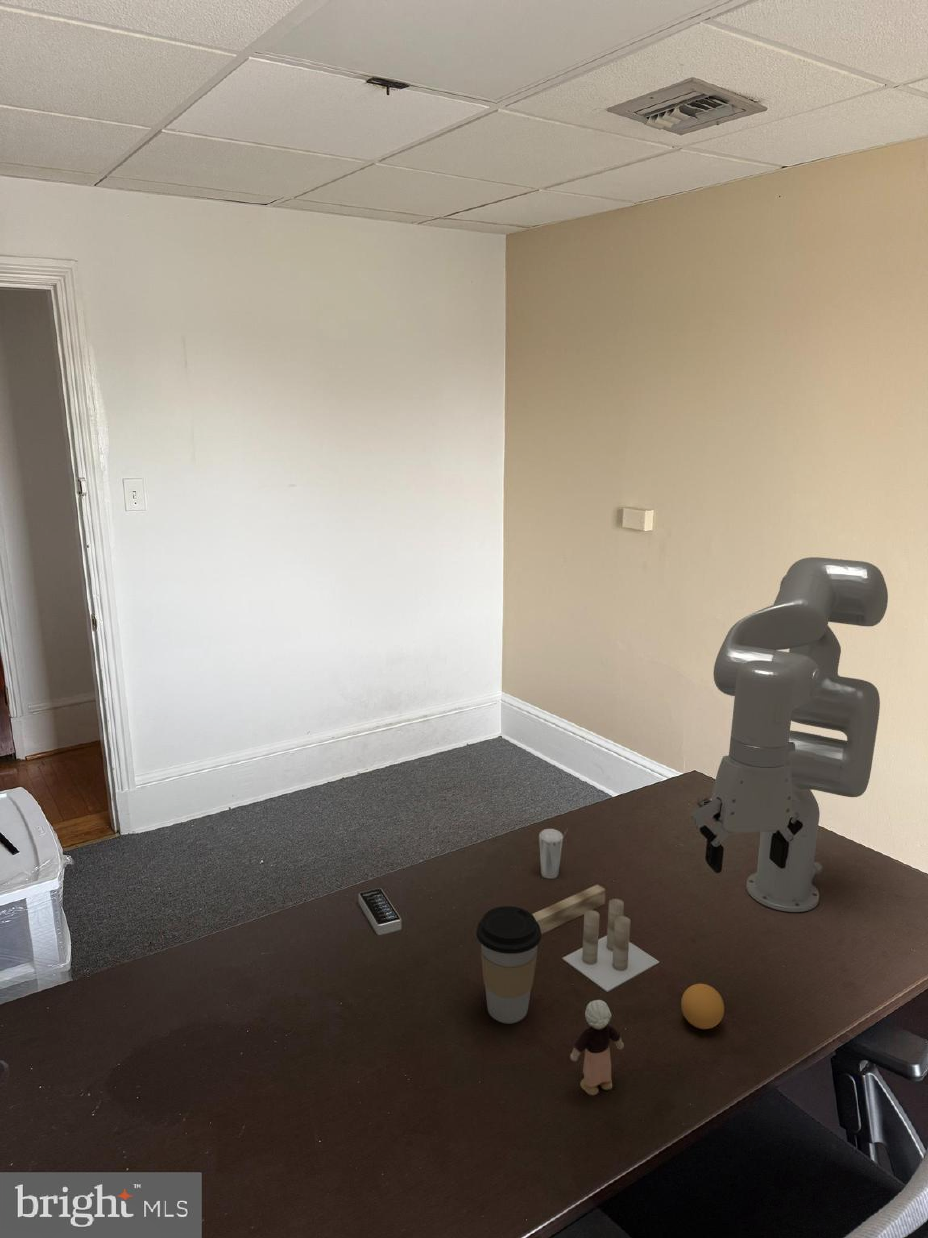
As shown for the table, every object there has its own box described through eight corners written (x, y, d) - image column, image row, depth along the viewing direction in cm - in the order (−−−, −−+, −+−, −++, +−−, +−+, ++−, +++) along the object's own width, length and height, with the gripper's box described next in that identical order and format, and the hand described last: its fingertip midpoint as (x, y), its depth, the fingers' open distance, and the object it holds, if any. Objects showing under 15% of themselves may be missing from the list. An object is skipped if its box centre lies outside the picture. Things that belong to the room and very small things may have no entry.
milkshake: (564, 882, 161) (566, 834, 159) (536, 879, 162) (538, 831, 160) (566, 870, 166) (568, 823, 163) (539, 867, 167) (540, 820, 164)
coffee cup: (545, 997, 130) (548, 910, 127) (529, 1039, 122) (532, 947, 118) (486, 983, 133) (487, 898, 130) (466, 1024, 125) (467, 933, 121)
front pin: (619, 960, 139) (622, 914, 137) (630, 968, 137) (633, 921, 135) (609, 966, 138) (611, 919, 136) (620, 974, 136) (623, 926, 134)
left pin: (589, 954, 140) (591, 908, 138) (600, 962, 139) (602, 915, 137) (579, 960, 139) (581, 913, 137) (589, 967, 137) (591, 921, 135)
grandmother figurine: (605, 1065, 117) (610, 984, 114) (625, 1083, 114) (630, 1001, 111) (561, 1088, 113) (565, 1006, 110) (580, 1108, 110) (584, 1023, 107)
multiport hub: (377, 937, 145) (377, 925, 145) (357, 904, 155) (357, 892, 154) (402, 931, 147) (402, 919, 146) (381, 898, 157) (380, 887, 156)
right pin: (613, 942, 144) (616, 897, 142) (624, 949, 142) (626, 904, 140) (603, 947, 142) (605, 902, 140) (613, 954, 140) (616, 909, 138)
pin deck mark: (613, 932, 146) (613, 931, 146) (659, 962, 139) (659, 961, 139) (562, 959, 139) (562, 958, 139) (607, 992, 132) (607, 991, 132)
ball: (697, 1004, 129) (700, 969, 128) (730, 1027, 124) (734, 991, 123) (671, 1020, 126) (674, 985, 124) (704, 1044, 121) (707, 1008, 119)
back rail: (596, 899, 156) (597, 884, 155) (604, 904, 155) (605, 889, 154) (503, 942, 143) (503, 927, 143) (511, 948, 142) (511, 932, 141)
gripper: (800, 739, 122) (787, 850, 126) (687, 744, 119) (676, 857, 123) (831, 759, 115) (816, 875, 119) (711, 764, 112) (700, 883, 115)
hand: (745, 866), depth 121 cm, fingers open, 9 cm apart
